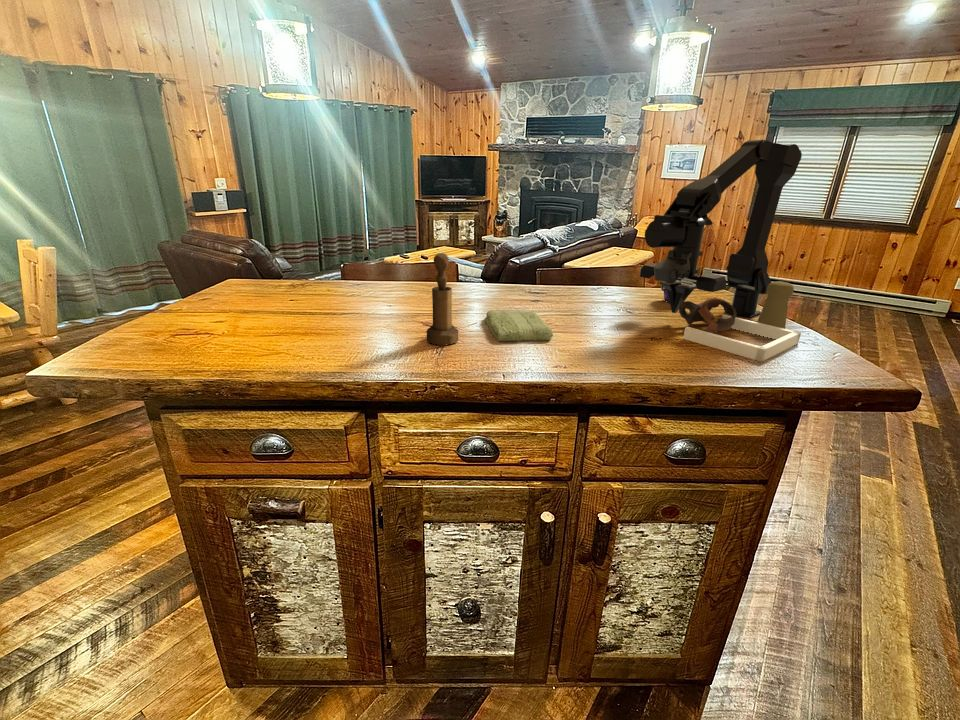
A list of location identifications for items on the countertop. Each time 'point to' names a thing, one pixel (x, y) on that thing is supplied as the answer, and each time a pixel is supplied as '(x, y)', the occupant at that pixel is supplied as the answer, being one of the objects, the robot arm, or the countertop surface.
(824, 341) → the countertop surface
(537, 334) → the washcloth
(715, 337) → the cream bay
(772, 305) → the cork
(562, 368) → the countertop surface
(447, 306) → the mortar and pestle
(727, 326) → the brown looped piece
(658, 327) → the countertop surface
